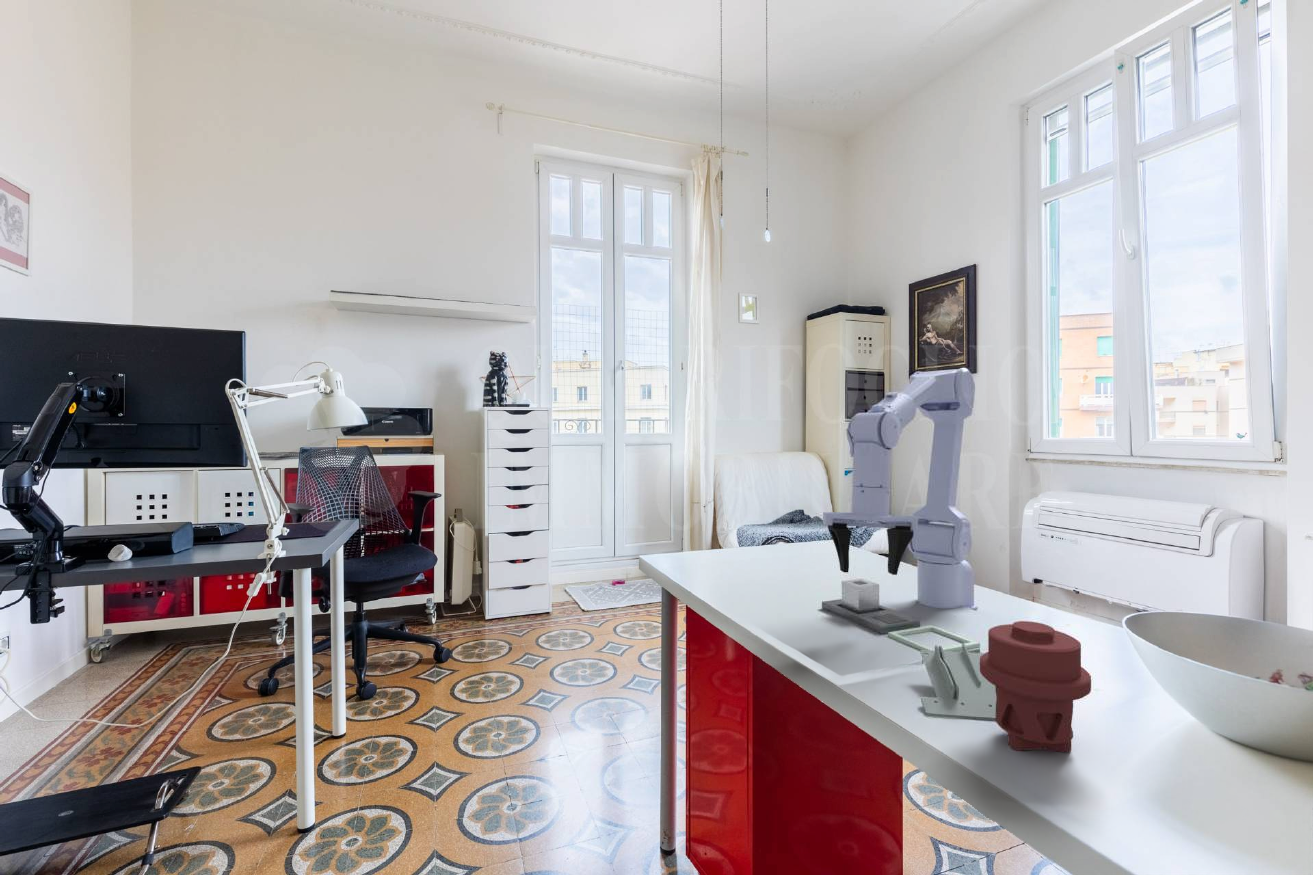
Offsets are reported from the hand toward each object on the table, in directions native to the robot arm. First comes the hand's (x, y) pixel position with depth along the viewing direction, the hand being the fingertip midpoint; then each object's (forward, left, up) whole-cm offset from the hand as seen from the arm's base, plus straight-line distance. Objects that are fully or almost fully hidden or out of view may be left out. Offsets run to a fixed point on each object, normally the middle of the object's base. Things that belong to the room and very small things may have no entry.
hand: (868, 572), depth 97 cm
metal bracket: (+2, +22, -11) cm, 25 cm away
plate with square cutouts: (-5, -6, -11) cm, 13 cm away
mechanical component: (+6, +32, -11) cm, 35 cm away
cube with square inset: (-5, -8, -10) cm, 13 cm away
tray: (-6, +7, -11) cm, 14 cm away
